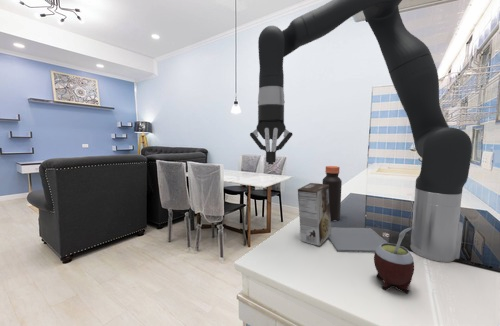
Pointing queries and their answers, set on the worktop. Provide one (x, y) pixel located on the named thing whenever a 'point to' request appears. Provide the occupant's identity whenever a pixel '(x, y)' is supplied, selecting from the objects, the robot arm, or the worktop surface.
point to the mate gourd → (394, 264)
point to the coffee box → (314, 213)
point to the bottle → (333, 190)
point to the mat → (355, 239)
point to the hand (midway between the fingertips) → (270, 164)
